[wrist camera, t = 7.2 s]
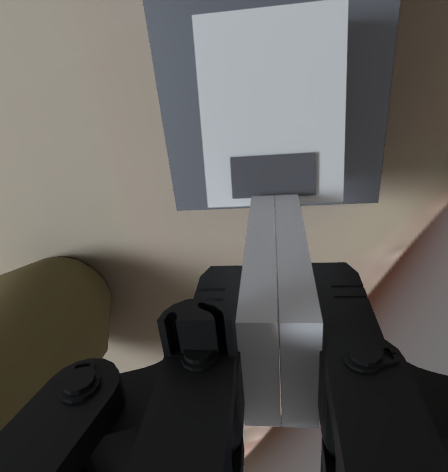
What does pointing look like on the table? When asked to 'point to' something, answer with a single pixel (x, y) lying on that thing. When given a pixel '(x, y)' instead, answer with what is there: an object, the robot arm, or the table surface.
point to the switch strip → (357, 92)
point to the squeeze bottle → (48, 325)
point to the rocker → (273, 101)
